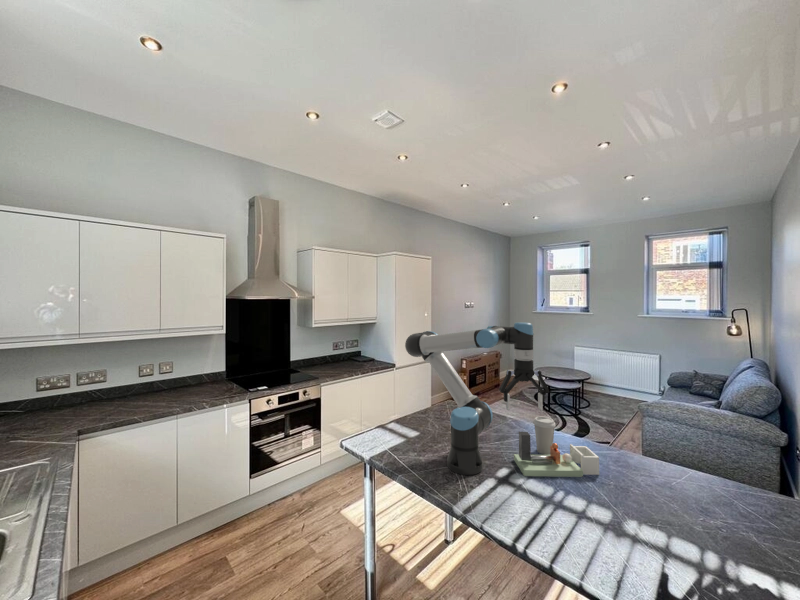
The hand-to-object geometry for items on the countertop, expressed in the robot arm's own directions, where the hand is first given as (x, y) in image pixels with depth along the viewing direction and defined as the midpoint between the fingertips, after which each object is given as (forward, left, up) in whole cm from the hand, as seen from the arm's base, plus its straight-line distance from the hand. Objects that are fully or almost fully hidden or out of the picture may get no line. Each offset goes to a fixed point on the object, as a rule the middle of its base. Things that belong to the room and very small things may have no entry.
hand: (524, 409), depth 132 cm
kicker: (+6, 0, -21) cm, 22 cm away
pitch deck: (+9, 0, -25) cm, 26 cm away
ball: (+17, 0, -20) cm, 27 cm away
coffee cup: (+14, +14, -25) cm, 32 cm away
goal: (+24, 0, -25) cm, 34 cm away
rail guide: (+6, 0, -22) cm, 23 cm away
